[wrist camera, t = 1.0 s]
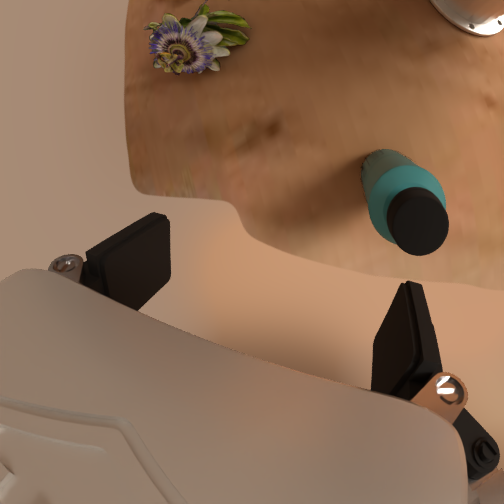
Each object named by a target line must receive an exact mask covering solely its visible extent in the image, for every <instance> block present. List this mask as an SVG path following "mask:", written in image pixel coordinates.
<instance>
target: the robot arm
mask: <svg viewBox="0 0 504 504" xmlns="http://www.w3.org/2000/svg"><path fill="white" fill-rule="evenodd" d="M430 2H431V3H432V4H433V5H434V7H435V8H436V9H437V10H438V11H439V12H440V13H441V14H442V15H443V16H444V17H445V18H446V19H447V20H449V21H450V22H451V23H452V24H454V25H456V26H457V27H459V28H460V29H462V30H464V31H466V32H468V33H471V34H474V35H478V36H492V35H495V34H497V33H499V32H500V31H501V30H502V29H503V28H504V0H430ZM86 258H87V261H85V262H83V259H82V257H81V256H79V255H75V254H68V255H63V256H61V257H58V258H56V259H55V260H54V261H52V262H51V264H50V266H49V268H48V271H47V270H42V269H23V270H20V271H18V272H16V273H14V274H12V275H10V276H9V277H7V278H5V279H4V280H2V281H1V282H0V504H504V471H503V469H502V468H501V469H500V470H498V469H497V465H498V463H499V458H500V453H499V448H498V445H497V443H496V442H495V440H494V439H493V438H492V437H491V436H490V435H489V434H488V433H487V432H486V430H484V428H483V427H482V426H481V425H480V424H479V423H478V422H477V421H476V420H475V419H474V418H473V417H472V416H471V415H470V413H469V412H468V411H467V410H466V409H465V408H464V406H465V405H466V402H467V400H468V392H467V389H466V387H465V385H464V383H463V382H462V381H461V380H460V379H459V378H458V377H456V376H455V375H453V374H451V373H447V372H443V370H442V364H441V359H440V354H439V348H438V343H437V339H436V334H435V331H434V326H433V324H432V322H431V317H430V314H429V310H428V306H427V302H426V299H425V294H424V291H423V287H422V285H421V284H419V283H415V282H412V281H406V283H405V284H404V283H401V284H400V286H399V288H398V291H397V293H396V295H395V297H394V299H393V302H392V304H391V306H390V308H389V310H388V312H387V314H386V316H385V318H384V320H383V322H382V324H381V327H380V328H379V331H378V332H377V334H376V336H375V339H374V343H373V362H372V380H371V390H367V389H363V388H360V387H356V386H352V385H348V384H344V383H340V382H336V381H332V380H328V379H324V378H321V377H317V376H313V375H310V374H306V373H303V372H300V371H296V370H293V369H289V368H286V367H283V366H280V365H277V364H273V363H271V362H267V361H264V360H261V359H258V358H255V357H252V356H249V355H246V354H244V353H240V352H238V351H235V350H232V349H229V348H226V347H224V346H221V345H218V344H216V343H213V342H210V341H208V340H205V339H203V338H200V337H197V336H195V335H192V334H190V333H187V332H185V331H182V330H180V329H178V328H175V327H173V326H170V325H168V324H166V323H163V322H161V321H159V320H156V319H154V318H152V317H149V316H147V315H145V314H143V313H140V312H138V310H139V309H140V308H141V307H142V306H143V305H144V304H145V303H146V302H147V301H148V300H149V299H150V298H151V297H152V296H153V295H155V293H157V292H158V291H159V290H160V289H161V288H162V287H163V286H164V285H165V284H166V283H167V282H168V281H169V279H170V277H171V260H170V221H169V220H168V219H167V217H166V215H163V214H159V213H155V212H153V213H150V214H148V215H147V216H145V217H143V218H141V219H140V220H138V221H136V222H134V223H133V224H131V225H129V226H127V227H126V228H124V229H123V230H121V231H119V232H117V233H116V234H114V235H112V236H111V237H109V238H107V239H106V240H104V241H102V242H101V243H99V244H97V245H96V246H94V247H93V248H91V249H89V250H88V251H86Z"/></svg>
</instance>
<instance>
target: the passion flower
mask: <svg viewBox="0 0 504 504" xmlns="http://www.w3.org/2000/svg"><path fill="white" fill-rule="evenodd" d="M206 1H207V0H206ZM206 1H205V2H204V3H203V4H201V5H200V7H199V9H198V11H197V12H196V14H195V16H194V17H193V18H191V19H187V18H181V20H180V21H178V20H177V18H176V17H175V16H173V15H172V14H170V13H167V14H166V13H165V14H164V16H163V18H162V20H163V22H162V23H156V22H152V23H149V25H148V26H146V27H144V29H143V30H148V29H153V33H152V35H150V37H149V39H150V41H151V42H149V45H151V47H149V49H152V52H151V53H150V54H152V53H155V56H156V57H155V58H154V62H153V66H154V68H160V67H162V68H164V71H165V72H173V73H175V74H176V75H180V72H187V73H188V74H190V73H193V72H196V71H197V72H198V73H199V74H200V73H202V72H203V70H205V69H206V67H207V68H209V69H210V70H214V71H219V69H220V63H219V62H218V60H217V59H216V58H217V57H223V56H229V55H230V51H229V50H228V48H226V47H225V46H234V45H244V44H245V43H246V41H248V40H249V38H248V37H247V36H246V35H245V34H244V33H243V32H241V31H239V30H234V29H230V28H221V27H219V26H218V25H217V24H216V23H225V24H233V25H237V26H239V27H245V28H250V29H252V28H251V27H249V25H248V24H247V22H246V21H245V19H244V18H242V17H240V16H239V15H236V14H234V13H231V12H228V11H225V10H221V11H215V12H211V13H209V10H210V9H209V7H208V6H207V5H205V3H206ZM207 13H208V14H207ZM161 25H162V26H161ZM158 26H160V27H159V29H157V27H158Z"/></svg>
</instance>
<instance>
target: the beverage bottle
mask: <svg viewBox="0 0 504 504" xmlns="http://www.w3.org/2000/svg"><path fill="white" fill-rule="evenodd" d="M398 152H399V151H398ZM398 152H396V151H393V150H389V149H382V150H378V151H375V152H372V154H371V153H370V155H369V156H368V155H367V156H368V157H367V158H366V160H365V161H364V163H362V164H363V165H362V167H361V168H362V170H361V178H362V180H361V181H362V182H363V186H362V187H364V192H365V196H366V200H367V201H366V202H367V203H368V210H369V215H370V219H371V221H372V224H373V226H374V227H375V229H376V230H377V232H378V233H379V234H380V235H381V236H382V237H383V238H385V239H386V240H388V241H390V242H392V243H394V244H397V245H398V246H399V247H400V248H401V249H402V250H403V251H405V252H406V253H408V254H411V255H415V256H423V255H427V254H430V253H432V252H434V251H436V250H437V249H438V248H439V247H440V246H441V245H442V244H443V242H444V241H445V239H446V237H447V234H448V229H449V220H448V215H447V212H446V200H445V195H444V191H443V189H442V187H441V185H440V183H439V182H438V180H437V179H436V178H435V177H434V176H433V175H432V174H431V173H430V172H428V171H427V170H425V169H423V168H421V167H419V166H418V165H416V164H415V163H413V162H412V161H411V160H412V159H411V160H410V159H408V158H406V155H405V157H404V156H403V155H401V154H400V152H399V153H398ZM361 178H360V179H361ZM363 194H364V193H363Z"/></svg>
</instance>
